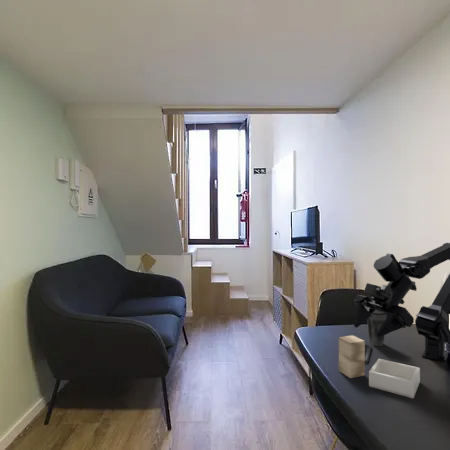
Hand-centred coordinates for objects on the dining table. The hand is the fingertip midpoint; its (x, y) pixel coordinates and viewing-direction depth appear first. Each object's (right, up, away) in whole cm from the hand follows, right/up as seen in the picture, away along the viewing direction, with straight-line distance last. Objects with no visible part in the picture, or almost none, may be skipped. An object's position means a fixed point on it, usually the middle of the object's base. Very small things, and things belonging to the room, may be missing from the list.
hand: (365, 331), depth 102 cm
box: (+4, -12, -8) cm, 15 cm away
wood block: (-5, -12, -2) cm, 13 cm away
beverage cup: (+13, -11, +22) cm, 27 cm away
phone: (+2, -12, +13) cm, 18 cm away
